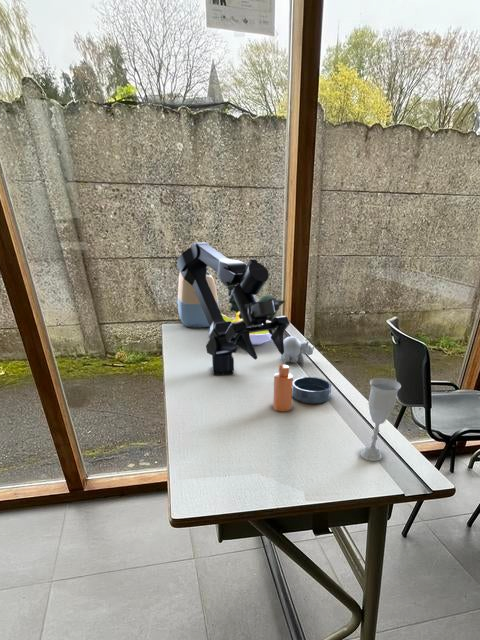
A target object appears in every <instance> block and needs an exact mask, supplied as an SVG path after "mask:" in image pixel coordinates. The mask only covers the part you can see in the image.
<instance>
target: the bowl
mask: <svg viewBox="0 0 480 640" xmlns="http://www.w3.org/2000/svg"><path fill="white" fill-rule="evenodd" d="M331 396H332V383H331V382H330V381H328V380H326V379H324V378H320V377H315V376H304V377H298V378H296V379H293V385H292V399H295V400H296V401H299V402H301V403H305V404H311V405H312V404H314V405H315V404H316V405H317V404H321V403H325V402H328V401H329V400H330V399H331Z"/></svg>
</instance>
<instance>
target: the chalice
mask: <svg viewBox="0 0 480 640" xmlns="http://www.w3.org/2000/svg"><path fill="white" fill-rule="evenodd" d="M369 385H370V390H369V397H368V404H367V405H368V411H369V415H370V418H371V421H372V423H374V428H373V429H372V432H373V434H372V435H371V437H370V438H371V443H369V444H368V445H366V446H365V447H364V448H363V449H362V451H361V453H360V456H361V457H362V459H364V460H366V461H370V462H377V461H380V460H381V459H383V458H382V453H381V449H380V446H379V445H377V440H379V436H378V434H379V433H380V425H382V424H384V423H385V422H386V421H387V419H388V418H389V416H391V414H392V412H393V410H394V408H395V405H396V401H397V396H398V392H399V391H400V389H401V387H402V385H401V383H400V382H399V381H397V380H395V379H393V378H387V377H374V378H371V379H370V381H369Z"/></svg>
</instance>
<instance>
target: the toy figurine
mask: <svg viewBox="0 0 480 640" xmlns="http://www.w3.org/2000/svg"><path fill="white" fill-rule="evenodd" d="M235 286H236V285H234V286H226V287H227V290H228V292H227V295H228V297H230V295H231V291H232V290H234V288H235ZM270 298H275V296H273V295H271V294H263V295H262V296H260V298H259V299H258V300H257V301H258V302H263V301H268V299H270ZM277 301H278V304H279V307H280V306H282V305H283V304H284V303H286V300H284V299H283V300H282V299H277ZM228 303H229V304H230V306H229V311H230V312H234V313H235V314H236V313H238V312H239V309H238V306H237V304H236V302H235V300H233V301H231V300H230V298H228ZM278 311H279V310H277V311H275V314H271V315H269V317H270V318H269V319H268V320H269V321H272V320H273V319H274V317H275V316H276V315H277V313H278Z"/></svg>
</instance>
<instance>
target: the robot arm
mask: <svg viewBox="0 0 480 640" xmlns="http://www.w3.org/2000/svg"><path fill="white" fill-rule="evenodd" d="M176 266H177V269H178V271H179V274H180V273H181V275H182V276H183V278H184V280H186V281H187V282H188V283H190V284H191V285H192V286H193V288H194V291H195V293H196V295H197V298H198V300H199V302H200V305H201V307H202V309H203V312H204V314H205V316H206V318H207V321H208V323H209V325H210V327H209V332H208V333H209V334H208V338H209V339H208V341H207V343H206V345H205V350H206V353H207V354H209V355H210V356H211V361H212V362H211V363H212V364H211V365H212V366H211V370H212V373H213V375H214V376H215V375H216V376H218V375H219V376H220V375H233V374H234V371H235V358H234V355H233V354H236V353H237V351H238V347H239V348H240V349H242V350H243V351H244V352H245V353H247V354H248V356H250V357H251V358H252V359H253V360H257V359H258V354H257V352H256V349H255V347H254V345H252V342H251V340H250V335H249V333H254V332H260V331H267V330H268V331H269V333H270V334H271V335H272V336H271V341H272V342H273V344H274V346H275V347H276V349H277V350H278V352H279V353H280V356H281V355H283V354H284V343H283V341H284V333H285V331H286V329H287V328H288V327H289V326H290V324H291V321H290V320H289V318H288V316H286V315H278V316H274V319H273V320H272V321H271V323H266V320H268V319H269V318H270V317H269V315H271V314H275V311H277V310H278V311H279V309H280V306H279V304H278V301H277V300H278V299H277V298H276V297H274V298H270V299H268V301H263V302H258V301H259V300H258V299H257V297H256V295H258V294H259V293H260V292H261V290H262V289H263V287H264V286H265V284H266V282H267V281H268V280H269V277H270V272H269V270H268V269H267V268H266V267H265V266H264V265H263V264H262V263H260V262H259V261H258V259H257V258H249V260H248V261H247V264H246V263H245V262H243V261H241V260H238V259H233V258H232V259H231V258H228V257H227V256H225V255H224V254H222V253H221V252H220V251H219V250H217V249H215V248H214V247H212V246H211V244H210V243H208V242H194V243H192V244H191V246H190V247H189V248H187V249H186V250H184V251H183V252H181V253H180V255H179V256H178V258H177V260H176ZM208 267H209V268H210V269H212V270H213V271H214V272H216V273H217V275H218V280H219V281H221V283H222V284H223V285H224V286H225V287H227V286H234V285H235V288H234V290H232V291H231V295H230V296H229V299H230V300H231V301H233V300H235V302H236V304H237V306H238V309H239V311H240V314H239V318H240V319H243V320H244V322H243V321H239V322H231V321H228V322H226V321H225V320H224V319H223V316H222V314H223V313H222V312H221V310H220V306H219V307H218V305H217V303H216V300H215V298H214V296H213V293H212V291H211V289H210V286H209V284H208V282H207V280H206V274H207V271H208ZM278 311H277V312H278ZM275 315H276V314H275Z"/></svg>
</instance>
